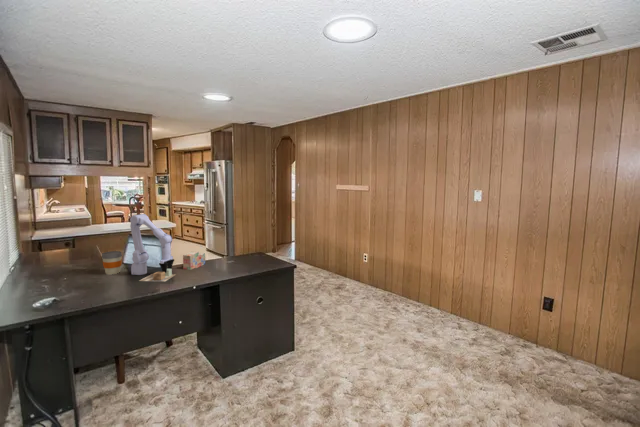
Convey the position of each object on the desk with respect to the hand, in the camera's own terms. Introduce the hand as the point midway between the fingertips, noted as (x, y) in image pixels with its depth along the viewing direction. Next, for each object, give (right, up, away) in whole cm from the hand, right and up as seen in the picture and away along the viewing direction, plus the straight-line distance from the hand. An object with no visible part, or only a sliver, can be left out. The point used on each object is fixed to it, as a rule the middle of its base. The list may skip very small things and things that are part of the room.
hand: (167, 271), depth 228 cm
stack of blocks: (+9, -2, +26) cm, 28 cm away
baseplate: (-4, -5, -4) cm, 8 cm away
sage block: (0, -3, 0) cm, 3 cm away
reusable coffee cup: (-44, -3, +8) cm, 45 cm away
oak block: (-1, -4, -9) cm, 10 cm away
